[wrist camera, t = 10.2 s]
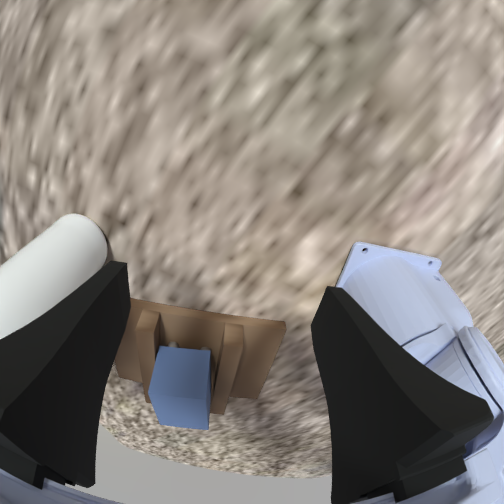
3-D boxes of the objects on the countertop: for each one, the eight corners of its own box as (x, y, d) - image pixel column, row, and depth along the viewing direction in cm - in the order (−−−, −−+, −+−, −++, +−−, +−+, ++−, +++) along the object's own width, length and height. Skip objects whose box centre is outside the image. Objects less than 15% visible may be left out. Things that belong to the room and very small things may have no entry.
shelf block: (211, 387, 27) (208, 429, 23) (167, 382, 27) (160, 424, 22) (210, 350, 24) (205, 399, 20) (159, 345, 24) (147, 392, 19)
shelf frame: (285, 321, 25) (289, 351, 22) (256, 391, 31) (257, 417, 28) (106, 293, 23) (92, 320, 20) (121, 370, 29) (113, 394, 26)
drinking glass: (53, 265, 22) (-33, 397, 9) (47, 195, 18) (-83, 322, 6) (118, 283, 23) (48, 444, 10) (120, 210, 19) (0, 381, 7)
